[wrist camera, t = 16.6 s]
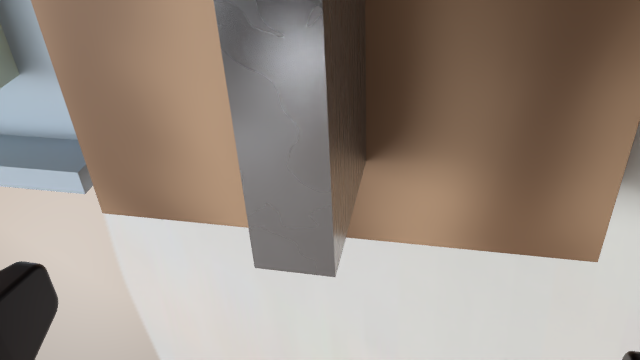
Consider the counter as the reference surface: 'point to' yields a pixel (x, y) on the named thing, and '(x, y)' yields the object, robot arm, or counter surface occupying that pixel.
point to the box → (36, 114)
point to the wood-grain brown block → (376, 117)
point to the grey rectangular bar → (297, 123)
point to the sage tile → (6, 61)
